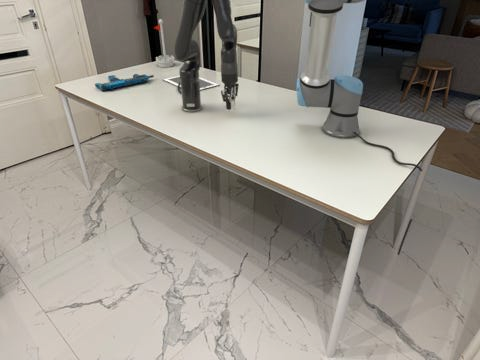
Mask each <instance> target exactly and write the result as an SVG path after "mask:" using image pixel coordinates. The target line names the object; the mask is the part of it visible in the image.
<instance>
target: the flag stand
mask: <svg viewBox="0 0 480 360" xmlns="http://www.w3.org/2000/svg"><path fill="white" fill-rule="evenodd" d="M163 24H164V20H163V19H162V18H160V19H158V25H155V26H154V27H153V28H154V29H155V30H157V31H159V32H160V35H161V44H162V51H163V52H162V53H163V55H159V56H156V57H155V62H156V63H157V66H158V67H160V68H170V67H174V66H175V63H174V62H175V61H176V60H175V59H176V57H175V55H169V54H167V52H166V43H165V35H164V27H163Z"/></svg>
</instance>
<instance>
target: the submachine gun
mask: <svg viewBox="0 0 480 360" xmlns="http://www.w3.org/2000/svg"><path fill="white" fill-rule="evenodd" d="M107 77H108V80H109V82H103V83H100V82H96V83H94V86H95V88H97V89H98V90H100V91H107V90H113V91H114V90H115V89H116V88H120V87H125V86H129V85H134V84H138V83H139V84H140V83H145V82H146V83H147V81H148V80H150V79H151V78H154V77H155V76H154V74H151V75H147V74H138V73H134V74H133V75H132V77H129V78H121V79H120V78H118V77H117V76H116V75H113V74H112V75H108V76H107Z"/></svg>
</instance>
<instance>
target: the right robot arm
mask: <svg viewBox="0 0 480 360" xmlns="http://www.w3.org/2000/svg"><path fill="white" fill-rule="evenodd" d="M362 2H365V0H304V3H305V4H307V8H308V10H309V11H310V17H309V27H310V28H309V36H308V43H307V44H308V45H307V52H306V62H305V70H304V71H303V72H302V73H301V75H300V77H298V78H297V79H296V102H297V104H298V106H300V107H306V108H325V109H329V112H328V115H327V117H326V120H325V121H324V123H323V126H322V130H323V132H324V133H325V134H326V135H329V136H332V137H335V138H339V139H341V138H342V139H349V138H354V137H357V138H359V139H360V140H362V142H363V143H365V144H367V145H370V146H373V147H379V148H382V149H386V150H388V151H389V152H390V153H391V156H392V157H391V158H392V160H393V161H394V162H395V163H397V164H398V165H403V166H412V167H414V168H417V170H419V171H420V172H423V169H422V168H421V167H420V166H419V165H418V164H415V163H409V162H402V161H399V160H397V159H396V157H395V153H394V151H393V149H391V148H390V147H388V146H385V145H382V144H376V143H372V142H369V141H367V140H366V139H365V138H363V137H362V136H361V135H360V134H359V132H360V125H359V118H358V117H359V116H358V114H359V111H360V110H359V109H360V105H361V100H362V95H363V89H364V83H363V82H362V80H361V79H359V78H358V77H355V76H351V75H348V74H347V75H346V74H337V75H334V76H335V77H334V79H332V78H331V76H330V74H329V73H328V68H329V64H330V58H331V51H332V47H333V46H332V45H333V39H334V34H335V27H336V22H337V15H338V14H339V13H340V12H342V10H343V7H344V4H358V3H362ZM412 222H413V218H411V219H409V221H408V224H407V227H406V230H405V231H404V234H403V237H402V239H401V243H400V245H399V248H398V250H397V255H398V256H400V254H401V252H402V248H403V245H404V243H405V240H406V237H407V235H408V232H409V229H410V226H411V224H412Z"/></svg>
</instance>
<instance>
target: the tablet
mask: <svg viewBox="0 0 480 360" xmlns="http://www.w3.org/2000/svg"><path fill="white" fill-rule="evenodd" d="M162 80H163V81H165V82H166V83H169V84H171V85H173V86H175V87H178V84H179V82H180V75H176V76H172V77H167V78H163V79H162ZM199 82H200V91H204V90H206V89H210V88H214V87H218V86H220V84H219V83H216V82H214V81H210V80H209V79H205V78H202V77H200V76H199ZM179 89H181V84H180V86H179Z"/></svg>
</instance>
